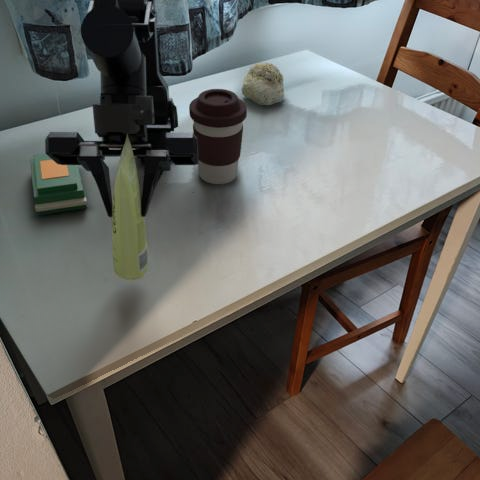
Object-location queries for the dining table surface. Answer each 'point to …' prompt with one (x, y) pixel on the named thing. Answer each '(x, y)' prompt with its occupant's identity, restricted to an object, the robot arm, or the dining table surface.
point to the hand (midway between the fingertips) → (126, 216)
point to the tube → (128, 220)
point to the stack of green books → (56, 186)
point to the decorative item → (264, 84)
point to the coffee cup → (218, 133)
